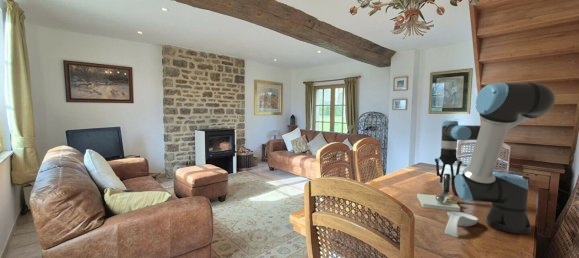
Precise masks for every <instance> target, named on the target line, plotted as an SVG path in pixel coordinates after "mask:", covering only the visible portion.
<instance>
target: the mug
mask: <svg viewBox="0 0 579 258" xmlns="http://www.w3.org/2000/svg"><path fill="white" fill-rule="evenodd" d="M451 191H452V193H453V195H454V196H455V197H459V196H458V194H457V192H456V188H455V179H454V184H451Z"/></svg>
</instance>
